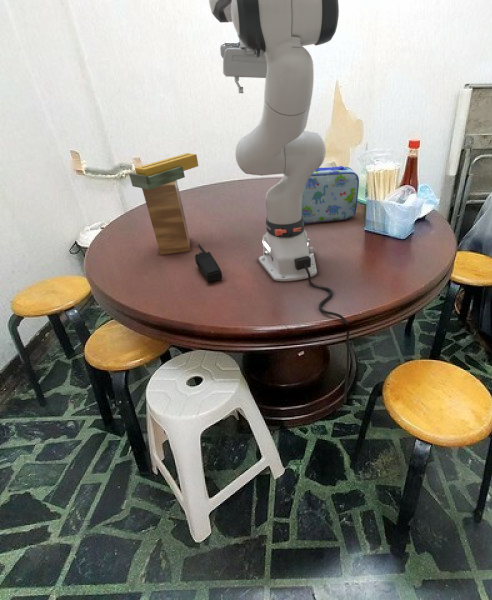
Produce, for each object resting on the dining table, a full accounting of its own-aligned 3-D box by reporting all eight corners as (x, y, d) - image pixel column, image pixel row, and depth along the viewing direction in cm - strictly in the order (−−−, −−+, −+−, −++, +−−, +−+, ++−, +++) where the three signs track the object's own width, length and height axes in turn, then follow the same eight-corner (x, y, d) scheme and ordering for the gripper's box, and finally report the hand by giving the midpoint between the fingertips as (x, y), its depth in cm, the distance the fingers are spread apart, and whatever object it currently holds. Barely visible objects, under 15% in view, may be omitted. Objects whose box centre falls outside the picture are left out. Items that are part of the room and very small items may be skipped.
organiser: (177, 235, 136) (159, 161, 120) (204, 242, 130) (189, 166, 114) (146, 250, 125) (122, 172, 110) (173, 259, 119) (152, 177, 104)
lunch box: (350, 211, 153) (353, 161, 141) (358, 220, 144) (363, 167, 132) (292, 217, 149) (290, 165, 137) (296, 226, 140) (295, 173, 128)
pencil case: (189, 164, 125) (187, 152, 123) (198, 166, 124) (196, 154, 121) (138, 180, 110) (134, 167, 108) (148, 182, 108) (144, 169, 106)
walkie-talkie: (200, 280, 104) (182, 249, 117) (216, 288, 108) (197, 257, 121) (213, 264, 103) (192, 234, 116) (228, 273, 107) (207, 243, 120)
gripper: (219, 39, 106) (223, 92, 112) (286, 42, 110) (286, 93, 116) (219, 43, 111) (223, 93, 118) (282, 46, 115) (283, 94, 122)
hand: (255, 93), depth 117 cm, fingers open, 8 cm apart
